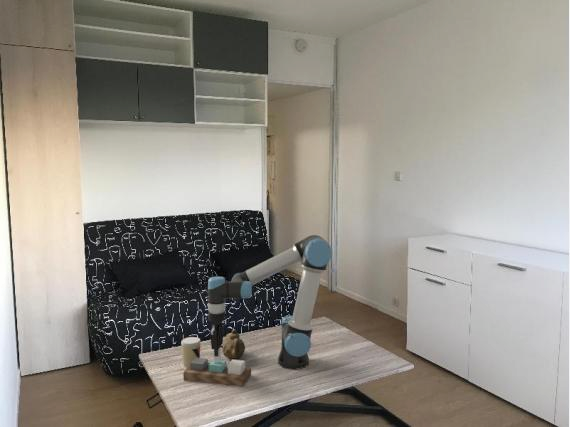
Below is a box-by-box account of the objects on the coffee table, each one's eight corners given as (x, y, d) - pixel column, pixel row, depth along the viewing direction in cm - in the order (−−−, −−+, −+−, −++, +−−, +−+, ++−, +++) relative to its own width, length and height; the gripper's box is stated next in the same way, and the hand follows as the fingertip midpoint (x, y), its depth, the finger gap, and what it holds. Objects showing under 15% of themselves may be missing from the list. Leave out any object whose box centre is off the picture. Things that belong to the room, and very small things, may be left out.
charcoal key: (207, 369, 218) (207, 358, 217) (202, 374, 212) (202, 364, 211) (195, 367, 219) (195, 357, 219) (190, 373, 213) (190, 362, 213)
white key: (244, 371, 213) (244, 360, 213) (240, 377, 208) (240, 366, 207) (232, 370, 215) (232, 359, 214) (227, 375, 209) (227, 364, 209)
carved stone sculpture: (218, 352, 243) (218, 323, 242) (240, 349, 247) (240, 321, 245) (226, 368, 223) (226, 338, 222) (250, 365, 227) (250, 335, 225)
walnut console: (251, 375, 216) (251, 366, 216) (242, 387, 205) (242, 378, 204) (194, 369, 223) (194, 361, 222) (183, 380, 211) (183, 371, 211)
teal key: (226, 371, 216) (226, 360, 215) (221, 376, 210) (221, 366, 209) (214, 369, 217) (213, 359, 217) (209, 375, 211) (208, 364, 211)
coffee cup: (196, 369, 223) (196, 344, 222) (178, 367, 225) (177, 343, 224) (204, 361, 232) (203, 337, 231) (186, 359, 234) (185, 336, 233)
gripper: (214, 306, 218) (215, 355, 220) (203, 315, 205) (203, 367, 207) (229, 307, 216) (230, 357, 218) (219, 316, 203) (219, 369, 206)
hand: (217, 362), depth 213 cm, fingers closed
